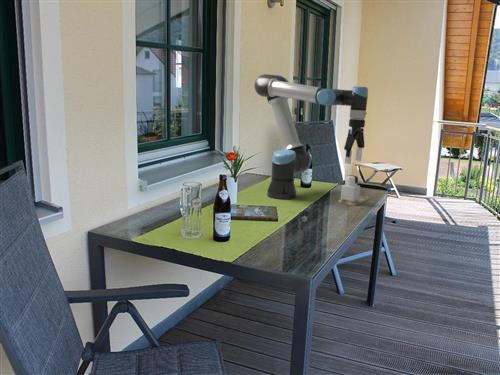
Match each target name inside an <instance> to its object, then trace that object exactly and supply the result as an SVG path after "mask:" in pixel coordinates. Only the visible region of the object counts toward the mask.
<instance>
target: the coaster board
mask: <svg viewBox="0 0 500 375" xmlns="http://www.w3.org/2000/svg"><path fill="white" fill-rule="evenodd" d="M368 200H370V196H367V195H366V194H361V193H360V194H359V199H358V200H356V201H348V200H342V199H338V200H337V203H338V204H342V205H349V206H354V207H356V206H357V205H360V204H362V203H364V202H366V201H368Z"/></svg>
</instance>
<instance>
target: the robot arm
mask: <svg viewBox="0 0 500 375" xmlns="http://www.w3.org/2000/svg"><path fill="white" fill-rule="evenodd" d="M253 87H254V90H255V92H256V94H257V95H259V96H260V97H264V98H266V100H267V103H268V104H270V105H271V106H272V109H273V113H274V118H275V120H276V123H277V127H278V130H279V133H280V137H281V140H282V143H283V148H284V149H279V150H276V151H274V152H273V154H272V159H271V161H272V163H271V176H270V177H271V178H270V179H271V181H270V183H269V186H268V188H267V190H266V196H267V197H269V198H273V199H279V200H291V199H296V198H297V190H296V186H295V174H300V173H304V172H306V171H308V169H309V168H310V167H311V165H312V156H311V154H310V153H309V152H308V151H307V150H306V149H305V146H304V144H303V143H301V142H300V139H299V135H298V132H297V128H296V125H295V122H294V118H293V115H292V112H291V109H290V105H289V102H288V99H291V100H292V99H293V100H299V101H302V102H309V103H314V104H320V105H322V106H326V107H327V106H348V107H350V109H349V122H348V126H349V127H351V128H350V129H348V132H347V137H346V140H345V143H344V148H343V149H344V150H345V158H344V164H347V165H351V163H352V154H353V150H352V149H353V146H354V144H355V141H356V145H357V146H356V149H355V150H356V151H355V161H357V162H361V161H362V156H363V155H362V154H363V149H365V135H364V131H365V130H364V128H365V126H366V120H365V119H366V115H367V113H368V112H367V105H368V98H369V88H368V87H367V86H357V85H356V86H355V85H353V86H352V87H351V88H352V89H339V88H333V89H331V88H325V87H318V86H312V85H306V84H301V83H294V82H289V80H288V79H287V78H286V77H285V76H283V75H280V74H268V73H267V74H260V75H259V76H258V77H257V78H256V79H255V81H254V86H253Z"/></svg>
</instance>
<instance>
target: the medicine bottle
mask: <svg viewBox="0 0 500 375" xmlns="http://www.w3.org/2000/svg"><path fill="white" fill-rule="evenodd" d="M358 181H359V177H358V176H357V175H353V174H350V175H349V174H348V175H346V176H345V181H344V184H342V185H341V189H340V199H342V200H348V201H356V200H358V199H359V194H361V193H360V192H361V185H358ZM340 199H339V200H340Z"/></svg>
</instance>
